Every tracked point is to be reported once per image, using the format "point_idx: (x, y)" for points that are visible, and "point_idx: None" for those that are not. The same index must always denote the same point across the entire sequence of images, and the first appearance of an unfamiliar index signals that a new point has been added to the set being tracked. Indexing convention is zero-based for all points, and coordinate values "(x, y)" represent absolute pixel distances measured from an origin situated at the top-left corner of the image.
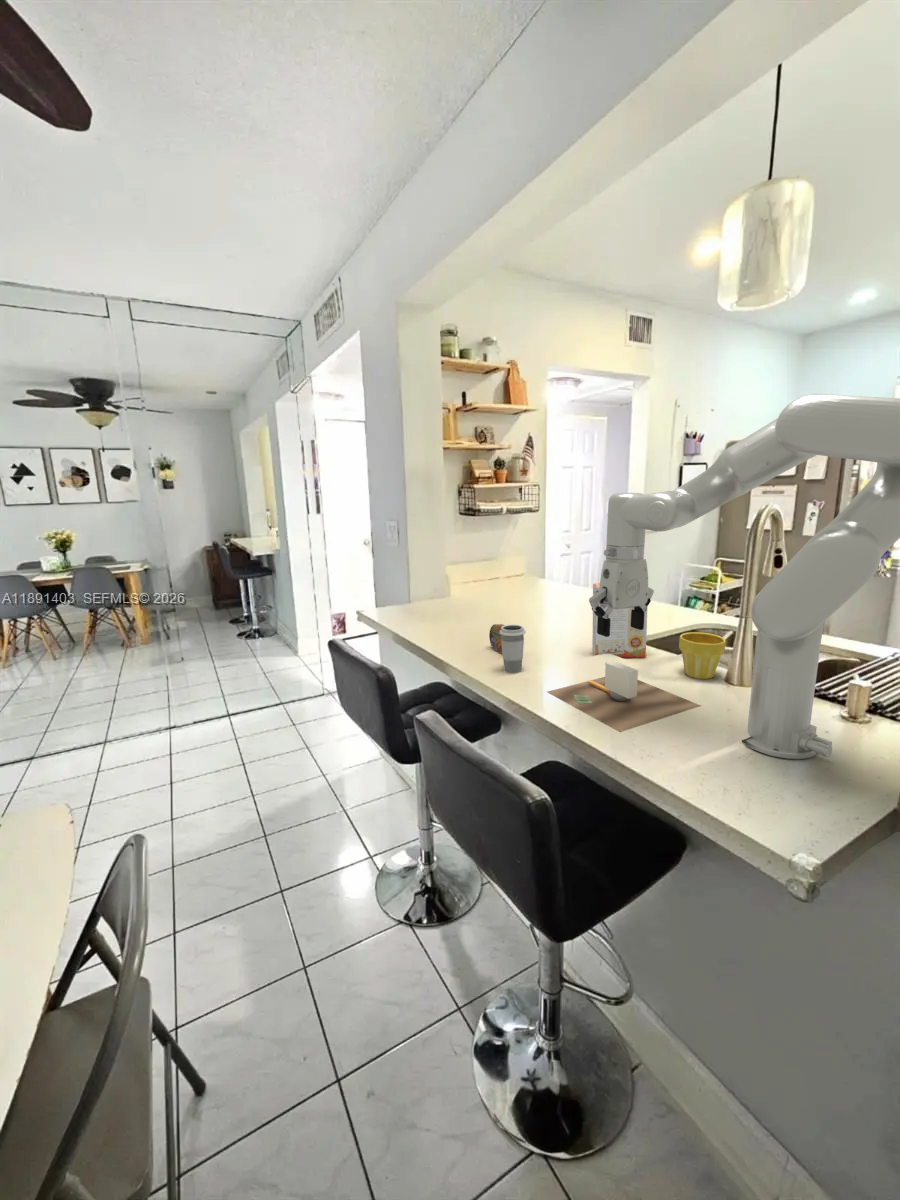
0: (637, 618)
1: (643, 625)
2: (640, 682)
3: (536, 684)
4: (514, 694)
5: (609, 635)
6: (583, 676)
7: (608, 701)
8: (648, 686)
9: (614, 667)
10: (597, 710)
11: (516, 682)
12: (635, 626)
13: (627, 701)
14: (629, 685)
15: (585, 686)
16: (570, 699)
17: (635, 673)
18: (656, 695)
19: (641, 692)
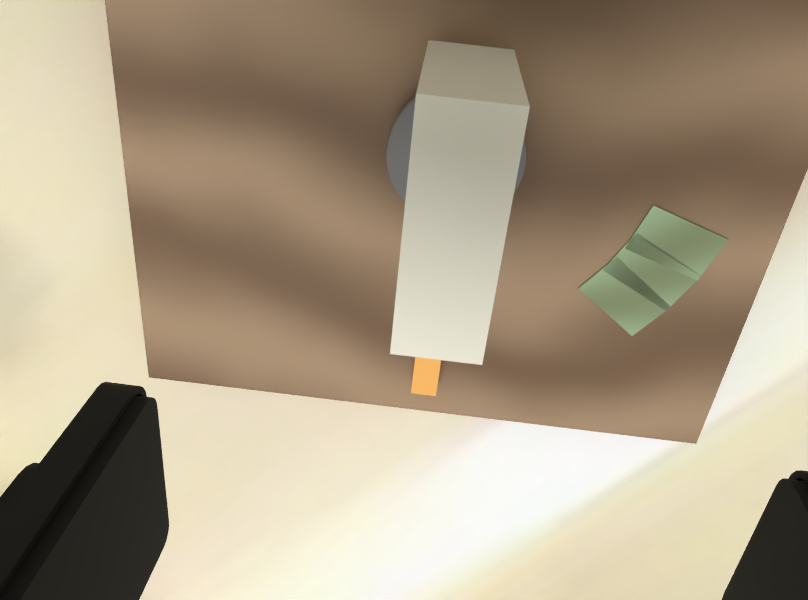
0: (90, 574)
1: (78, 418)
2: (151, 224)
3: (579, 535)
4: None
5: (790, 479)
6: (312, 473)
7: (555, 159)
8: (154, 153)
9: (498, 272)
10: (733, 110)
11: (630, 593)
12: (151, 486)
13: None
14: (514, 72)
15: (473, 371)
16: (697, 310)
17: (448, 89)
18: (221, 23)
19: (269, 119)
